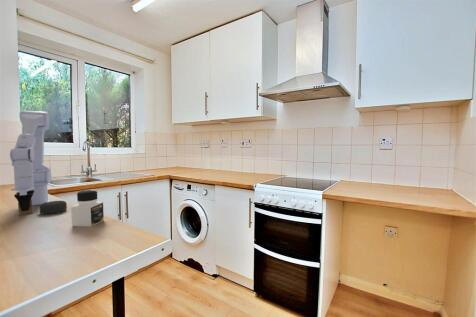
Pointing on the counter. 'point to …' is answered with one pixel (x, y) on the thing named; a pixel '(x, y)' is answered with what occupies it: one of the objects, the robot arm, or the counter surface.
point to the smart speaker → (53, 207)
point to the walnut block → (25, 211)
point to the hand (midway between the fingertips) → (25, 209)
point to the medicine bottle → (87, 209)
